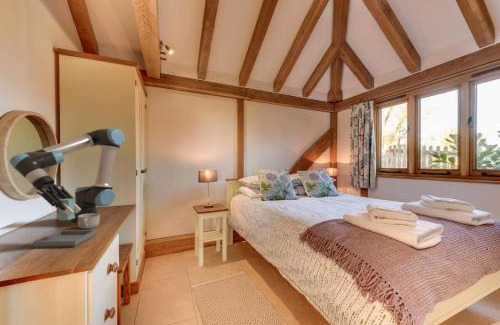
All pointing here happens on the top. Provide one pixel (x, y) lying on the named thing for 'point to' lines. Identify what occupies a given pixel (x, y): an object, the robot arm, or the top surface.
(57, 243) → the tray
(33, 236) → the top surface
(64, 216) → the teal block
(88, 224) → the teacup
